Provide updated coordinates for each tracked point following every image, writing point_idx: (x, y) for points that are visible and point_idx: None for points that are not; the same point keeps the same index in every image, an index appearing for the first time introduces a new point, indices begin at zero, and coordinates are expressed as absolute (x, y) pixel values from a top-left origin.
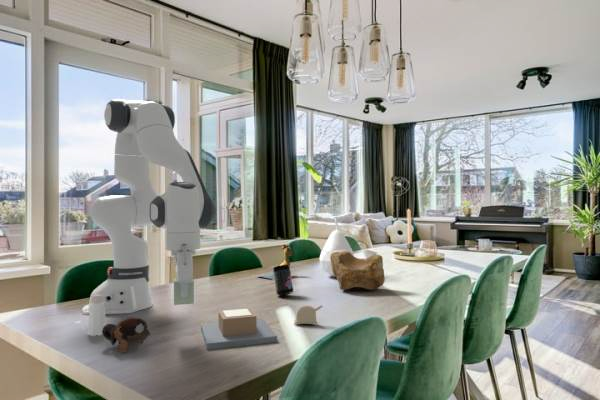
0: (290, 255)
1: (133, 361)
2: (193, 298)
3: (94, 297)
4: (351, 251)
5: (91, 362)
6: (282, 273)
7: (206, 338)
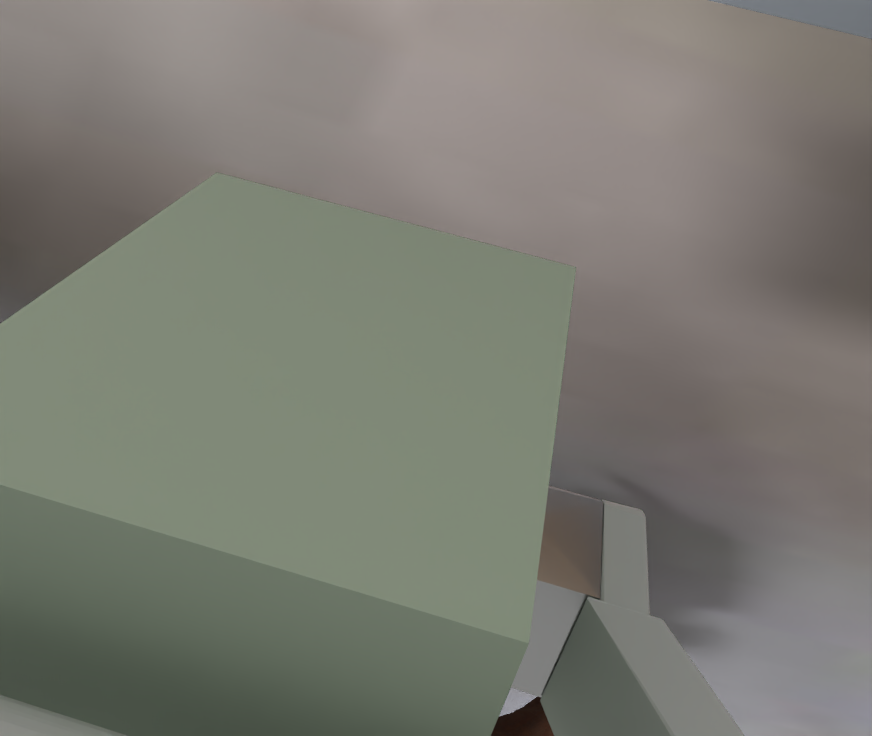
0: None
1: (766, 602)
2: (567, 322)
3: None
4: None
5: None
6: None
7: (824, 12)
